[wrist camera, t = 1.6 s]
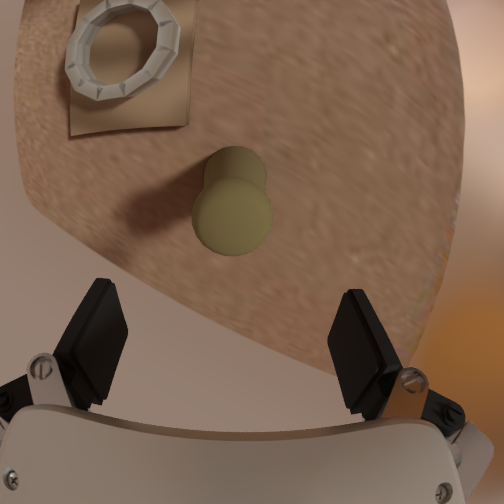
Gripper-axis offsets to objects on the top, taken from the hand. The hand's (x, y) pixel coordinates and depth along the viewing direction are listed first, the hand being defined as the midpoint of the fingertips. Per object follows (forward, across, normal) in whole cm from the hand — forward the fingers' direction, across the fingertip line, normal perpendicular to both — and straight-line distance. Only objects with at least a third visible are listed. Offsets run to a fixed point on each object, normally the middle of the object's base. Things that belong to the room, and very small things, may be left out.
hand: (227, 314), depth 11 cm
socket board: (+17, +10, -14) cm, 24 cm away
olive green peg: (+18, 0, -1) cm, 18 cm away
